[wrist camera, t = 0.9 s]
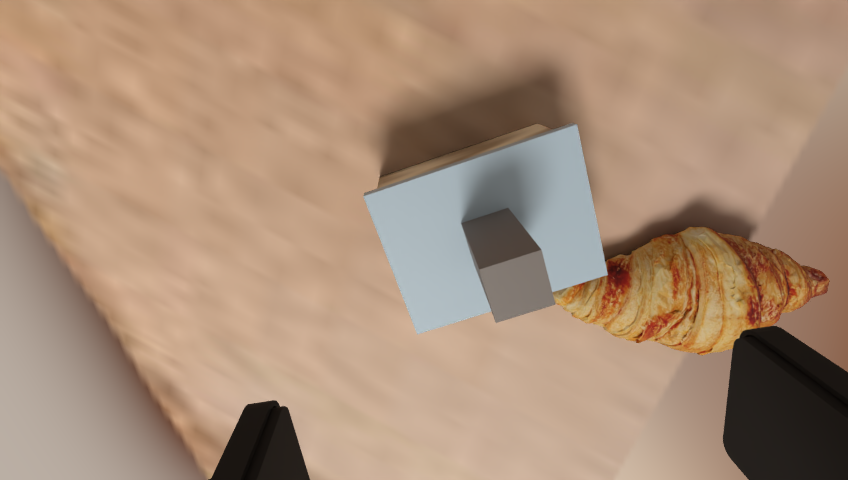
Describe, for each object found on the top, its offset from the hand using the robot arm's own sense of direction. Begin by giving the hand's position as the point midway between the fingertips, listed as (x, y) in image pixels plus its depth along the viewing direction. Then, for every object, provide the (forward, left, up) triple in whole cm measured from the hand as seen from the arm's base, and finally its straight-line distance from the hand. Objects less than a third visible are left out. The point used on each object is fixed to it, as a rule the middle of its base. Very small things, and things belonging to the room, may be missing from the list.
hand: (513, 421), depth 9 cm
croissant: (-16, +15, -26) cm, 34 cm away
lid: (-2, +3, -20) cm, 20 cm away
